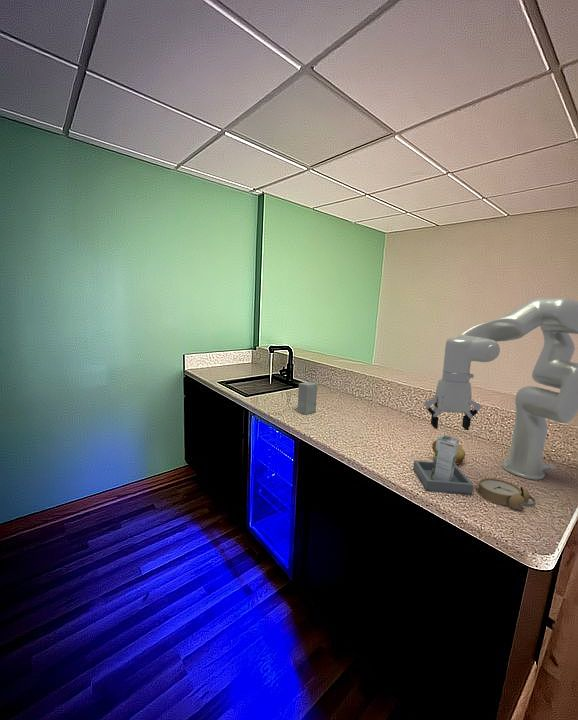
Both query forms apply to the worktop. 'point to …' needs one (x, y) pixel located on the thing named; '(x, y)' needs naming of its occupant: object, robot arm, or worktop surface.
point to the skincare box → (307, 397)
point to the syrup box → (444, 458)
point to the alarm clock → (504, 493)
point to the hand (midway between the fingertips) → (449, 428)
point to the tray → (456, 486)
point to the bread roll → (460, 452)
